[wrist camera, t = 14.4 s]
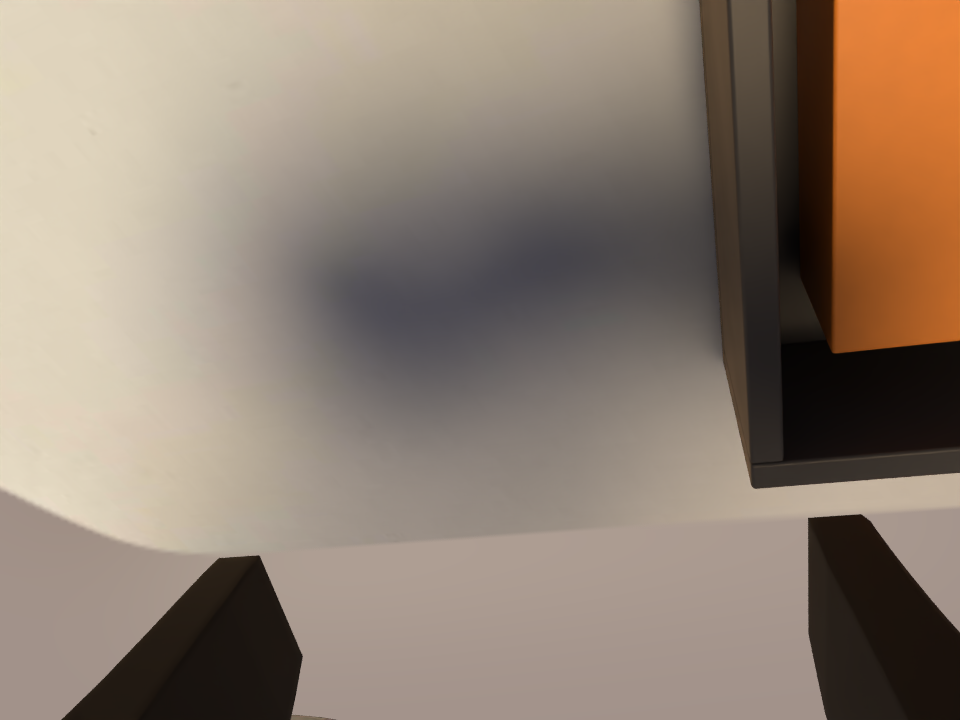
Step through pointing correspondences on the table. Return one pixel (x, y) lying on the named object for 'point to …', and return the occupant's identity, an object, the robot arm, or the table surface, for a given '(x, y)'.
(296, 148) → the table surface
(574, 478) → the table surface
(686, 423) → the table surface
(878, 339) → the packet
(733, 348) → the bin
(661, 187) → the table surface
